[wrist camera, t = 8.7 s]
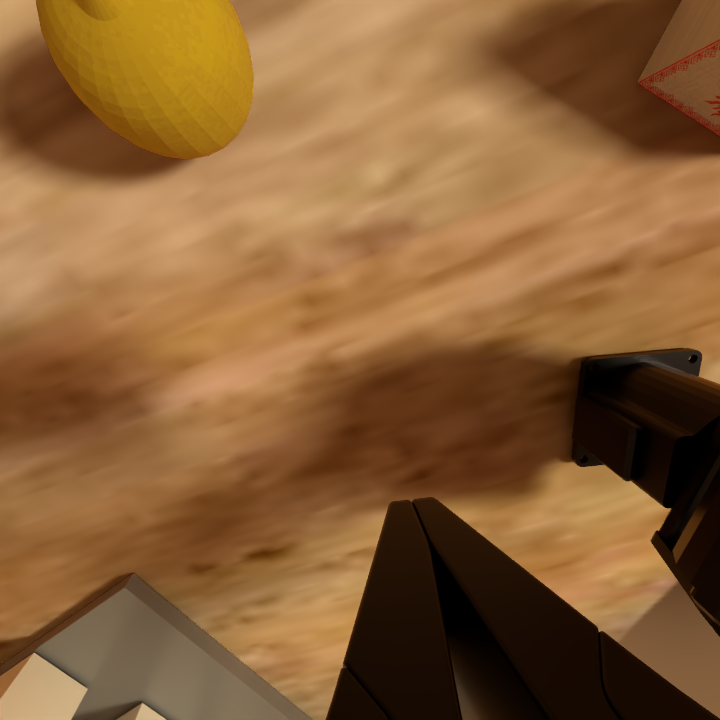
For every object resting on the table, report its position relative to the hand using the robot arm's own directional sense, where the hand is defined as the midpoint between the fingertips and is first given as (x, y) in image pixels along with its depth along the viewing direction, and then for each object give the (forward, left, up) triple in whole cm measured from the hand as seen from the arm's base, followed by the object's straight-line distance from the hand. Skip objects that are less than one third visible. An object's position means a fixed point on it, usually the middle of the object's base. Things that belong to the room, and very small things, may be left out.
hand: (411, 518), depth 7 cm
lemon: (+6, -11, -13) cm, 18 cm away
